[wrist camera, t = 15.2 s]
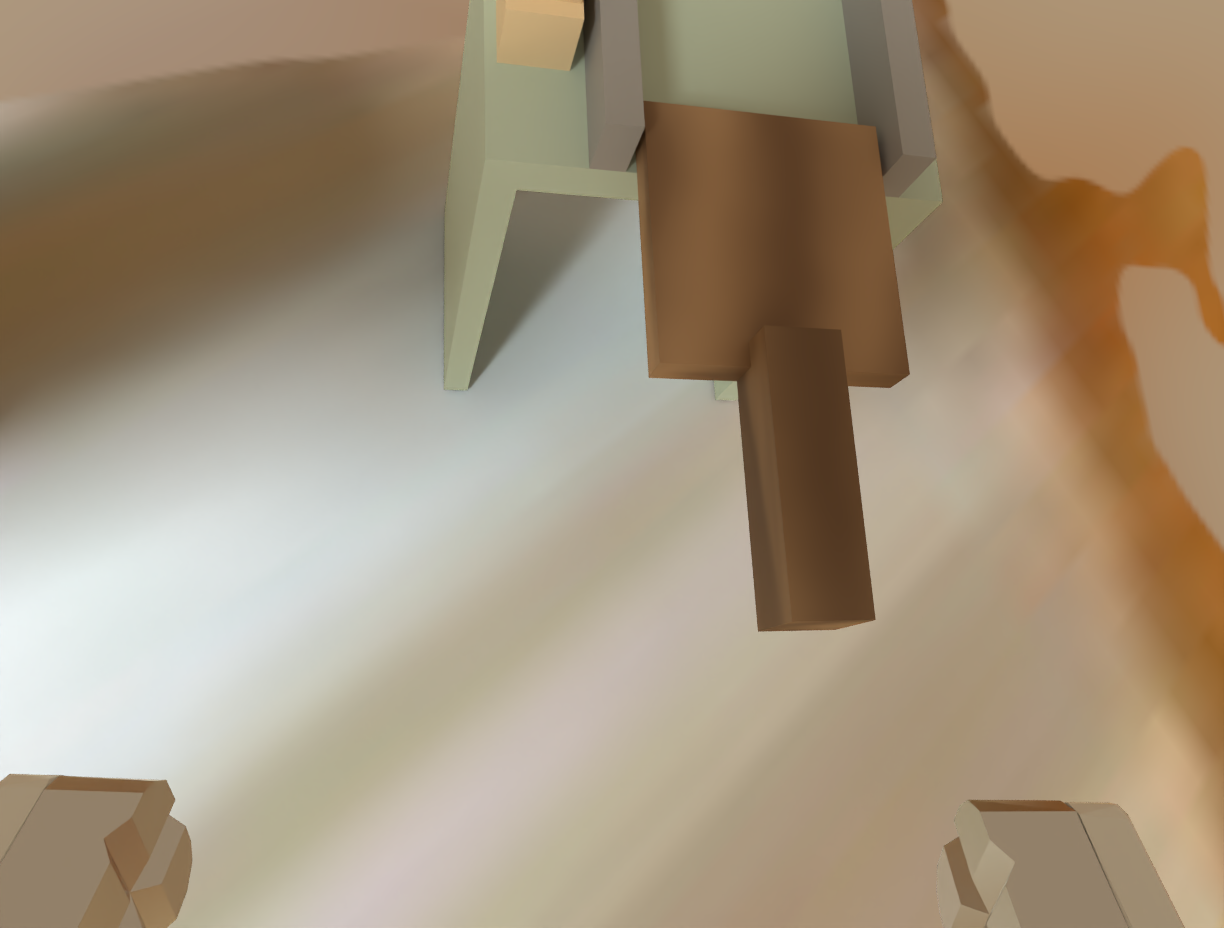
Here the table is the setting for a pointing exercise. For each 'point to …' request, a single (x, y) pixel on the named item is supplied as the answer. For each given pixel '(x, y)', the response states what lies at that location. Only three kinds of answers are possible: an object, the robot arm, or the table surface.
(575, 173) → the stand
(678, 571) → the table surface
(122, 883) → the robot arm
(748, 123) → the board with handle
